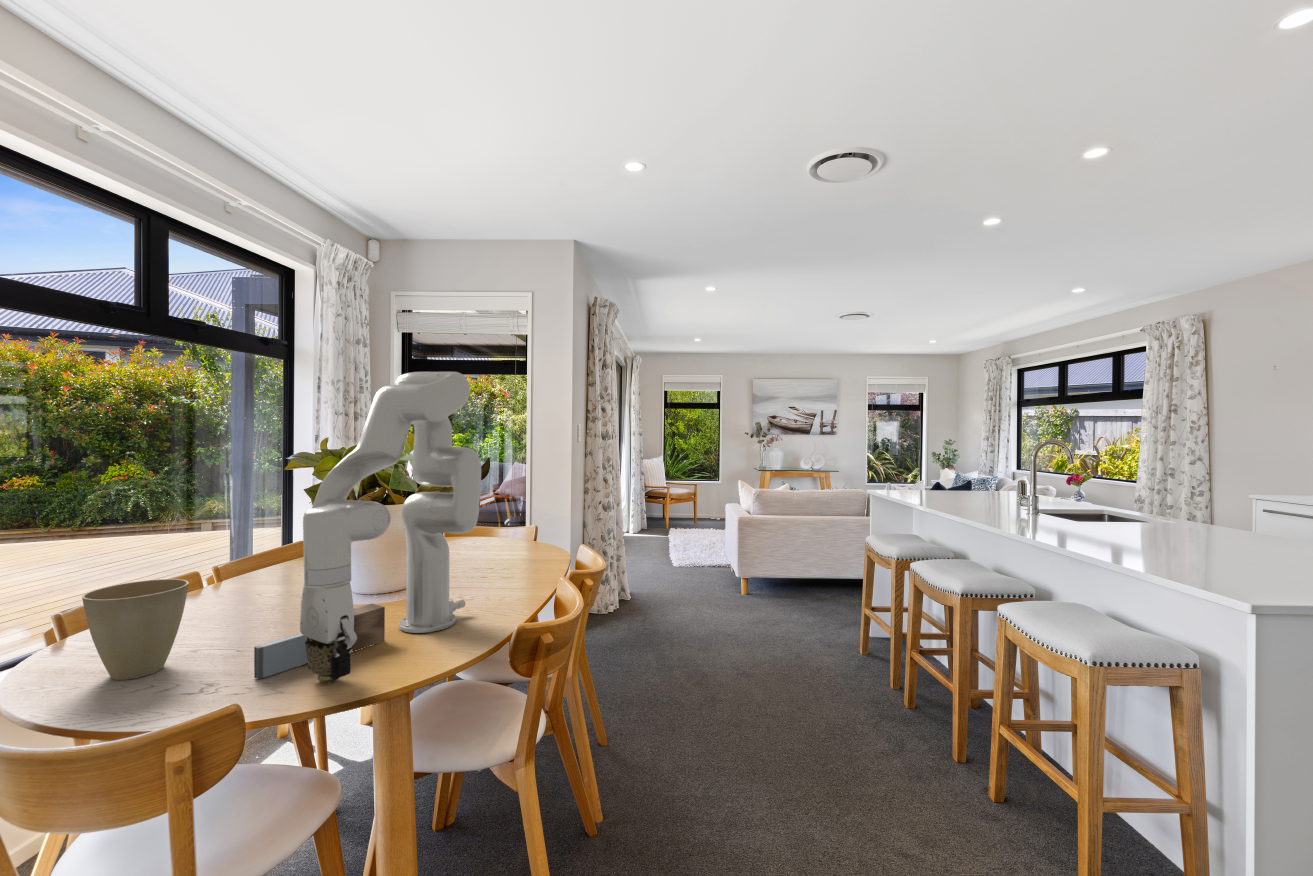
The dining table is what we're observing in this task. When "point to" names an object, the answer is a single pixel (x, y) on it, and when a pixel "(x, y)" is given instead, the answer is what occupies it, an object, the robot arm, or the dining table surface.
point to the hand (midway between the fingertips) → (329, 670)
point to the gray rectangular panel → (279, 655)
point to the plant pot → (135, 624)
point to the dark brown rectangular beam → (369, 625)
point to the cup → (321, 659)
